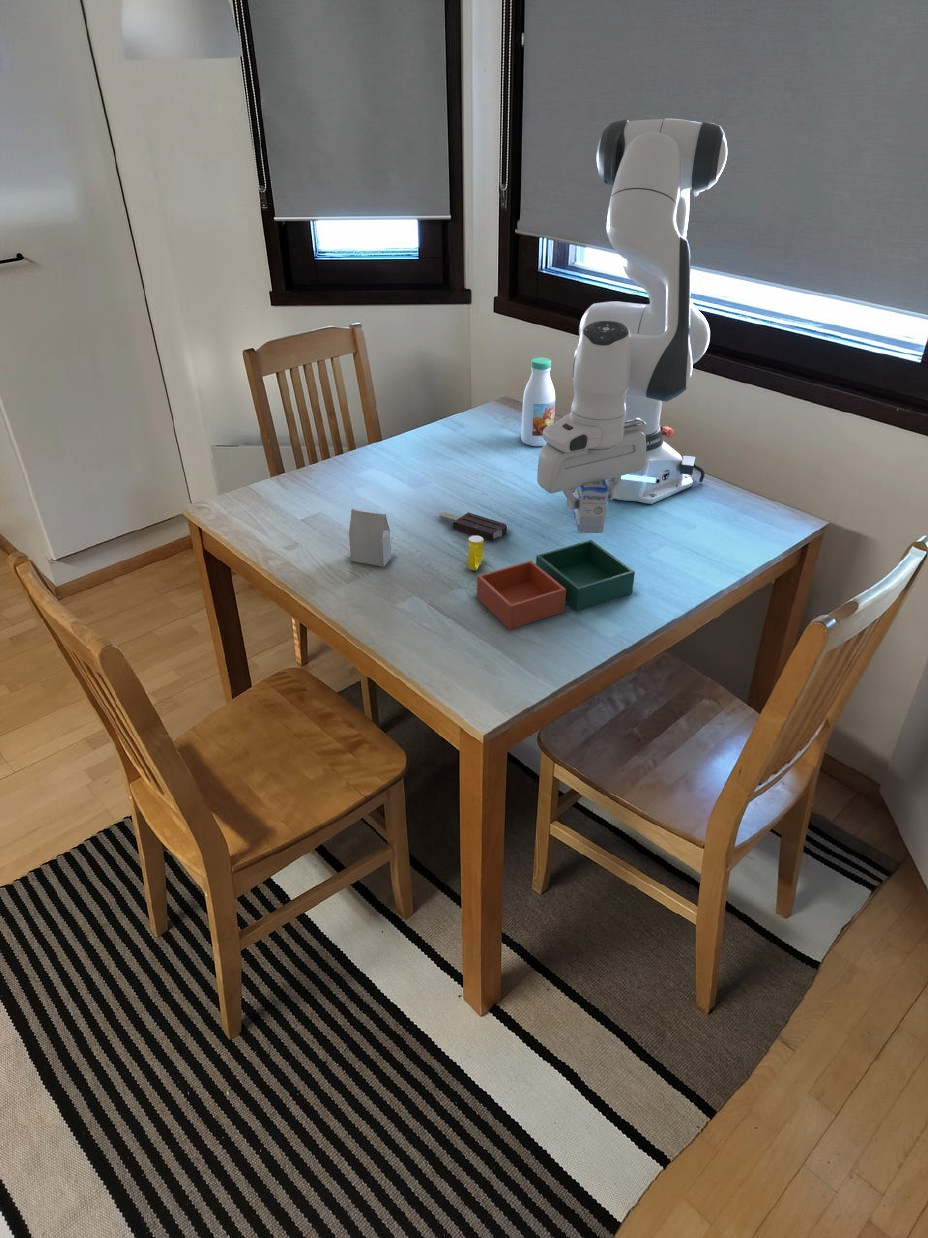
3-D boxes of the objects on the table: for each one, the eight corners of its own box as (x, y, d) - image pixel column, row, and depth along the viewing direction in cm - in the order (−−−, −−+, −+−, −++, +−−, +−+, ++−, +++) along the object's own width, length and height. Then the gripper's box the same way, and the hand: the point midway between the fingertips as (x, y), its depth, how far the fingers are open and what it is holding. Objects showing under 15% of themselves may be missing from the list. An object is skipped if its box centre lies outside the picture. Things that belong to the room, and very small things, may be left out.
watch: (478, 575, 161) (478, 547, 158) (463, 573, 162) (463, 545, 159) (486, 560, 166) (487, 532, 163) (472, 558, 167) (473, 530, 163)
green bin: (588, 560, 166) (591, 539, 164) (632, 593, 157) (635, 571, 154) (535, 576, 161) (536, 555, 159) (576, 611, 152) (578, 589, 149)
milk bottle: (519, 445, 211) (522, 364, 200) (522, 433, 218) (526, 353, 206) (551, 448, 210) (556, 365, 199) (553, 435, 217) (559, 355, 205)
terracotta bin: (529, 581, 160) (530, 560, 157) (564, 611, 152) (566, 589, 149) (476, 597, 155) (476, 575, 153) (509, 629, 147) (510, 606, 145)
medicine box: (572, 512, 155) (575, 467, 150) (596, 511, 155) (601, 466, 151) (578, 533, 149) (582, 487, 144) (604, 533, 149) (609, 487, 144)
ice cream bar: (433, 522, 179) (495, 542, 172) (433, 515, 178) (495, 535, 171) (448, 512, 182) (509, 532, 175) (448, 505, 181) (509, 524, 175)
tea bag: (383, 566, 164) (381, 519, 158) (350, 560, 166) (347, 513, 160) (391, 557, 167) (389, 510, 161) (358, 551, 169) (355, 505, 163)
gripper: (635, 409, 149) (626, 484, 156) (534, 431, 140) (530, 509, 148) (659, 422, 144) (648, 498, 152) (556, 445, 136) (550, 524, 144)
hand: (589, 503), depth 150 cm, fingers closed on medicine box, 6 cm apart
